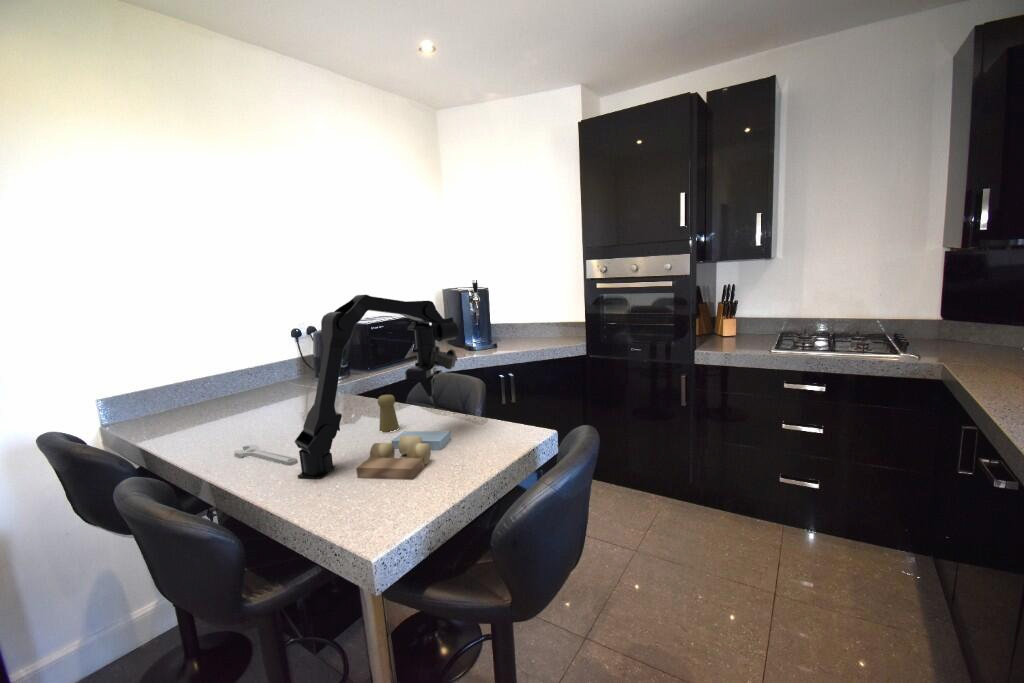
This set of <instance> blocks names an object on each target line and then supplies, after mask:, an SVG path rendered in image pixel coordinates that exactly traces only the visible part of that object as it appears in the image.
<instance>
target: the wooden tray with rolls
mask: <svg viewBox="0 0 1024 683" xmlns="http://www.w3.org/2000/svg"><path fill="white" fill-rule="evenodd" d="M431 452H432V450H431V449H430V445H429V444H427V443H411V444H410V445H409V447H408V450H407V454H406V457H404V458H403V457H395V455H396V454H395V449H394V446H393V444H392V442H374V443H373V444H372V445H371V448H370V450H369V457H368V458H367V459H366V460H364V461H363V462H361V464H359V465H357V466H356V476H357V478H359V479H360V477H361V479H387V478H390V480H391V479H394V480H395V479H396V480H414V478H416V477H417V475H418V474H419V473H420V472H421V471H422V470H423V469H425V465H427V464H429V463H430V460H431V456H432V455H431V454H432V453H431Z"/></svg>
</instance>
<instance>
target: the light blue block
mask: <svg viewBox="0 0 1024 683" xmlns="http://www.w3.org/2000/svg"><path fill="white" fill-rule="evenodd" d="M451 438H452V437H451V431H449V430H448V431H447V430H446V431H445V430H443V431H441V430H440V431H437V430H436V431H435V430H433V431H432V430H431V431H428V430H427V431H425V430H424V431H420V430H418V431H415V430H413V431H412V430H409V431H407V430H406V431H405V430H404V431H403V432H401V433H400V434H399V435H397V436H396V437H394V438H393V439H392V440H391V443H392V444H393V446H394V449H399V450H398V452H399V454H400V455H407V450H408V447H409V445H410V444H411V443H427V444H429V445H430V449H431V451H441V450H442V449H443V448H445V446H446V445H447V444H448V443H449V442H450V441H451V440H450V439H451ZM449 440H450V441H449Z"/></svg>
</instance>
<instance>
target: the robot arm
mask: <svg viewBox="0 0 1024 683" xmlns="http://www.w3.org/2000/svg"><path fill="white" fill-rule="evenodd" d="M368 311H370V312H379V313H387V314H393V315H394V314H395V315H400V316H403V317H405V318H407V319H410V320H413V321H412V322H410V324H409V325H408V326H407V329H406V330H408V331H414V338H415V348H413V353H416V358H417V359H416V362H415V363H414V366H411V367H409V368H407V369H406V370H405V372H404V375H405V379H406V380H417V381H418V382H419V383H420V385H421V386H422V388H423V389H424V391H425V393H426V395H427V396H428V397H433V396H434V393H435V392H434V391H435V385H436V382H437V378H438V376H439V375H440V374H441V373H442V371H443V370H442V369H441V370H438V368H437V367H443V368H444V369H446V370H451V369H452V368H455V365H456V362H457V361H458V355H457V354H456V350H454V349H449V350H448V351H447V352H446V351H441V350H440V346H439V345H437V342H445V341H450V340H456V339H457V338H458V336H459V327H458V325H457V323H456V322H455V321H454V317H452V316H448V317H444V318H443V316H442V315H441V313H439V311H438V310H437V307H436V305H435V303H434V301H431V300H411V301H410V300H409V301H406V300H405V301H404V300H398V299H392V298H391V299H390V298H386V297H385V298H384V297H378V296H371V295H369V294H357V295H355V296H354V297H352V298H351V299H350V300H349V301H347V302H345V303H344V304H343V305H341V306H339V307H338V308H336V309H335V310H333V311H330V312H327V313H326V314H324V315H323V316H322V319H321V322H320V329H321V330H320V334H321V339H322V344H323V351H322V356H321V363H320V368H319V373H318V374H319V375H318V380H317V386H316V393H315V398H314V403H313V405H312V406H311V408H310V410H309V411H308V413H307V415H306V419H305V420H304V424H303V428H302V430H301V431H300V433H299V435H298V436H297V437H296V438H295V440H294V444H295V445H296V447H297V449H300V450H299V451H298V454H299V461H300V468H301V473H299V474H298V475H297V478H298V479H322V478H324V477H325V476H327V475H328V474H330V473H331V472H333V471H334V470H335V469H337V465H334V463H333V454H332V452H331V449H332V446H333V440H334V439H335V438H336V436H337V433H338V432H340V431H341V428H340V424H341V420H342V413H339V412H337V411H336V407H335V403H336V398H337V391H338V386H339V380H340V374H341V370H342V369H341V368H342V364H343V363H342V361H343V356H344V350H345V348H346V347H347V344H349V341H350V340H351V338H352V336H353V332H354V329H355V326H356V324H358V323H359V322H360V321H361V320H362V319H363V317H364V316H365V314H366V313H367V312H368ZM418 321H420V322H418ZM430 323H431V324H430Z"/></svg>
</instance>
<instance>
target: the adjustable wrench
mask: <svg viewBox="0 0 1024 683" xmlns="http://www.w3.org/2000/svg"><path fill="white" fill-rule="evenodd" d="M243 450H245V451H243ZM233 453H234V457H235V456H236V457H235V458H238V459H242V457H243V458H248V457H247V456H255V457H254V458H257V457H259V458H258V459H261V458H263V459H262V460H265V459H266V460H265V461H269V460H270V461H269V462H273V463H276V462H277V463H278V464H280V463H281V464H280V465H285V466H293V465H296V464H297V463H298V458H297V457H293V456H289V455H285V454H282V453H281V454H280V453H275V452H271V451H266V450H263V449H260V448H259V445H258V444H247V445H243V446H242V449H238V450H237V449H236V450H234V452H233ZM277 463H276V464H277Z"/></svg>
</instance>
